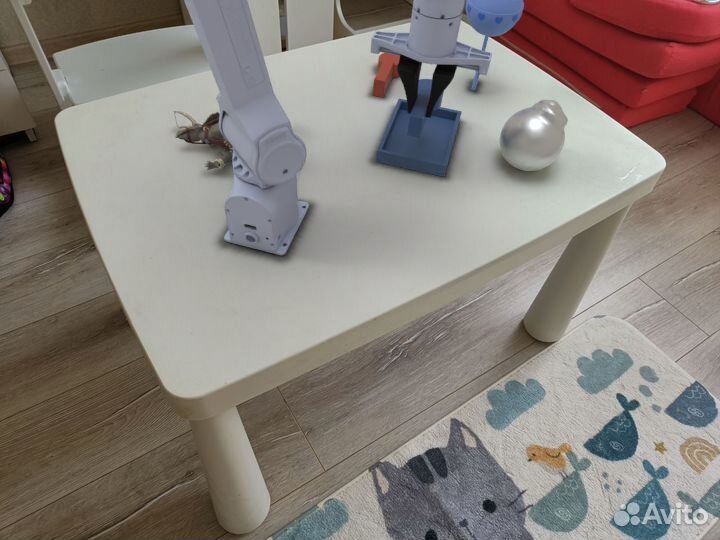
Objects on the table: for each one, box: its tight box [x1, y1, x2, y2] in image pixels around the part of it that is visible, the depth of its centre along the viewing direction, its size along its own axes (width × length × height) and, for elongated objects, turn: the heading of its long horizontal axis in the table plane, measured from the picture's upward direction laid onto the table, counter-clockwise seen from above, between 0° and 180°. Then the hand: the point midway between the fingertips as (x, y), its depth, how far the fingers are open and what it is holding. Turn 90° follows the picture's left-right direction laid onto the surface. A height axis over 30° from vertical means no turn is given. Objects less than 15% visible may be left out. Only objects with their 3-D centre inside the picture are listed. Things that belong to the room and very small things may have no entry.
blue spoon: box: [407, 78, 445, 138], centre depth 71 cm, size 11×4×3 cm, turn 164°
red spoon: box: [372, 52, 400, 98], centre depth 88 cm, size 11×4×3 cm, turn 164°
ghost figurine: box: [499, 99, 569, 172], centre depth 73 cm, size 9×10×10 cm
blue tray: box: [375, 98, 462, 178], centre depth 78 cm, size 14×10×2 cm
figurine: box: [172, 110, 233, 171], centre depth 75 cm, size 20×6×17 cm
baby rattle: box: [464, 0, 525, 91], centre depth 83 cm, size 9×9×18 cm
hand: (420, 111), depth 69 cm, fingers closed on blue spoon, 2 cm apart
